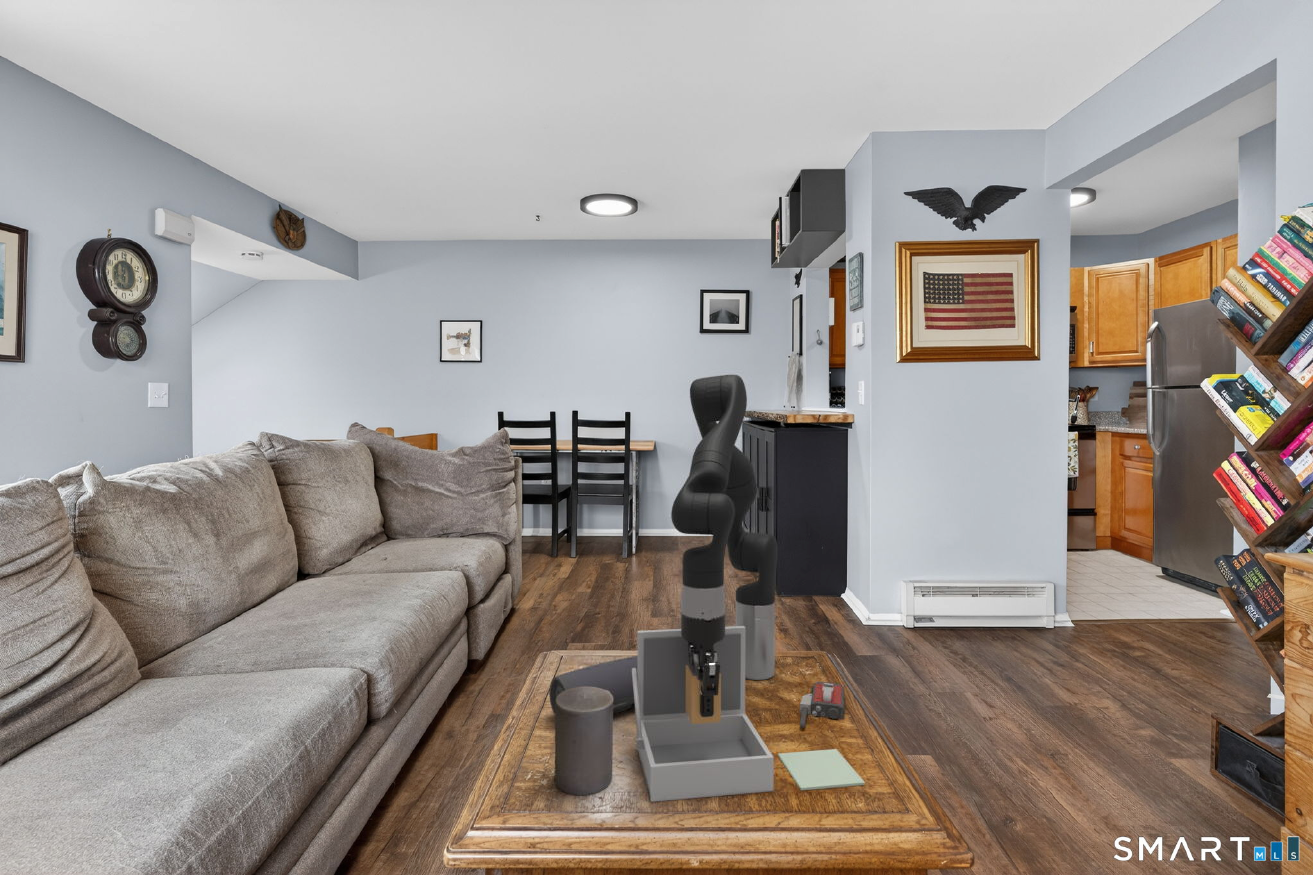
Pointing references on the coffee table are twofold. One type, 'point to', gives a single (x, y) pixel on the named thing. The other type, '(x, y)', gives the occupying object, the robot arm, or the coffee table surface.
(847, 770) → the pad
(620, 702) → the bluetooth speaker
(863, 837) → the coffee table surface
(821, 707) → the walkie-talkie
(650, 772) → the equipment case
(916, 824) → the coffee table surface
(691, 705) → the block
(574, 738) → the pillar candle
